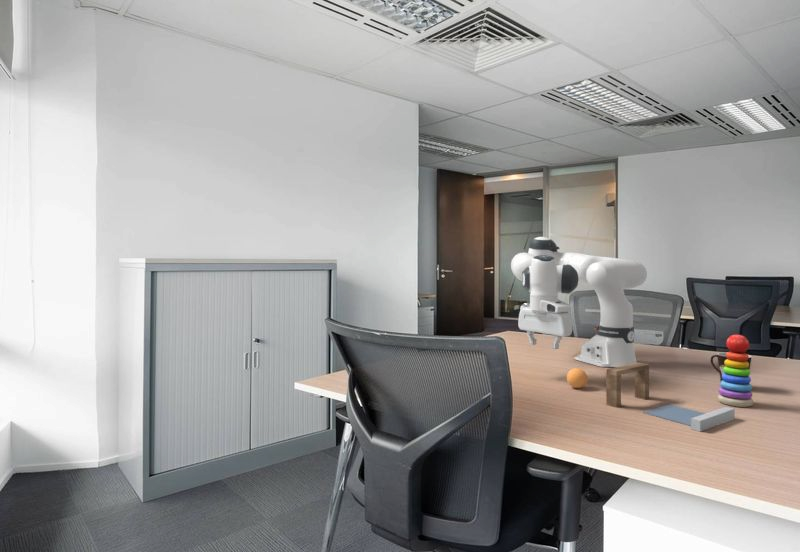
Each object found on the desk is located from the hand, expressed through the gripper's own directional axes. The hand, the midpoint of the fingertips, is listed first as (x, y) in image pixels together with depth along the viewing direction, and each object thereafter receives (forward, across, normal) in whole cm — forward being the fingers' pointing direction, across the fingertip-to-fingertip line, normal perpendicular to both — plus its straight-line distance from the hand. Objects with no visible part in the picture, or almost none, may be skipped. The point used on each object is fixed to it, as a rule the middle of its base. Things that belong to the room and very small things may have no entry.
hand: (543, 346), depth 159 cm
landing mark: (+11, +44, 0) cm, 46 cm away
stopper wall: (+11, +52, 0) cm, 53 cm away
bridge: (+11, +30, 0) cm, 32 cm away
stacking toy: (+11, +47, +22) cm, 53 cm away
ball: (+8, +13, 0) cm, 15 cm away
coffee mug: (+11, +38, +40) cm, 56 cm away
